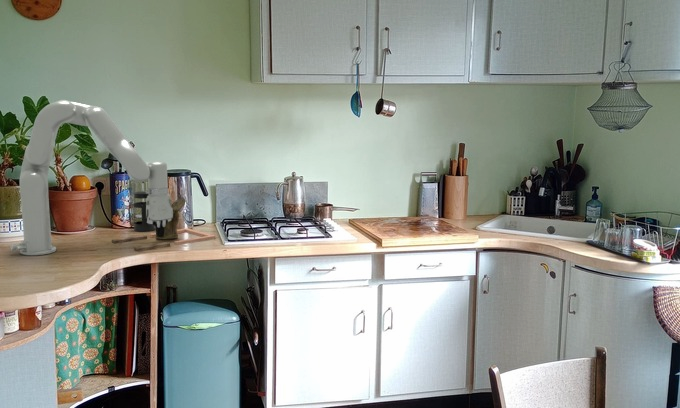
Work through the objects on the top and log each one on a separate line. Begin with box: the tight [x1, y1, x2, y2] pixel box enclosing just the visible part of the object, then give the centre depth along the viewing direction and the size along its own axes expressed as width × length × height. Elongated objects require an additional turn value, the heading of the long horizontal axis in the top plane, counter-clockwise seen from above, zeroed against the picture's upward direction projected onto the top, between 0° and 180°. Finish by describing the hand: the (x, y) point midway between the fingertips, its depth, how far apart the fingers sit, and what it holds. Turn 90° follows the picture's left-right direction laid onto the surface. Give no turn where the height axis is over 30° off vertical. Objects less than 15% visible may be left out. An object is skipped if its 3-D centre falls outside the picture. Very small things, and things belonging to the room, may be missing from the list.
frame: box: [149, 227, 216, 246], centre depth 288 cm, size 18×22×1 cm
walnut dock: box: [111, 234, 171, 253], centre depth 275 cm, size 14×22×1 cm, turn 44°
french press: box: [128, 179, 156, 233], centre depth 302 cm, size 12×9×23 cm
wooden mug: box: [154, 197, 186, 240], centre depth 283 cm, size 9×14×18 cm, turn 51°
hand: (160, 236), depth 280 cm, fingers closed
